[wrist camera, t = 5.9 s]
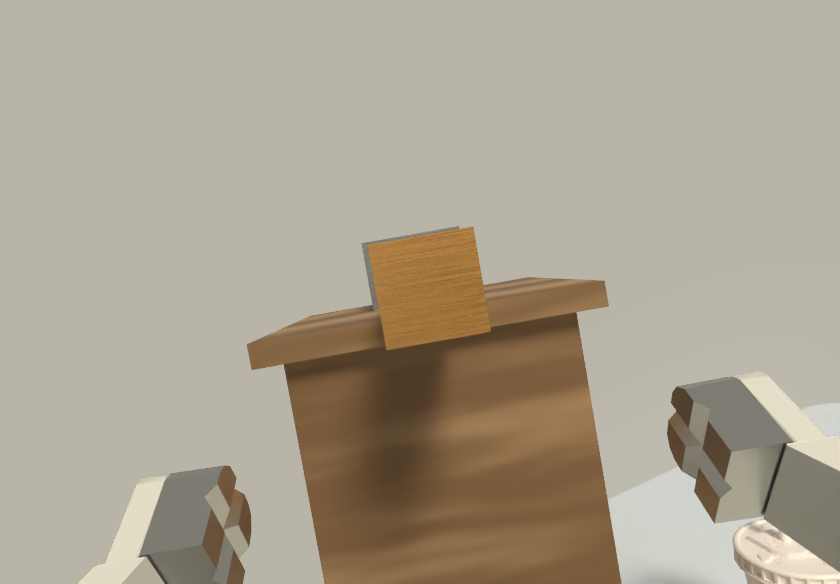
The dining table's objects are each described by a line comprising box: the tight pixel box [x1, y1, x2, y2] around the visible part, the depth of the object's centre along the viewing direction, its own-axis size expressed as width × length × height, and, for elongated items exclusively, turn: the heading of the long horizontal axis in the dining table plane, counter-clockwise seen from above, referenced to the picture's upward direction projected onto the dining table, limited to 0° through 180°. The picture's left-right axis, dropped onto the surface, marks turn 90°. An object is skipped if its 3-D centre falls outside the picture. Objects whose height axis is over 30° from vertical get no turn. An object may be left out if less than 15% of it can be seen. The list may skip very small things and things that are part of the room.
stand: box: [247, 277, 621, 584], centre depth 29 cm, size 14×14×26 cm
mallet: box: [362, 227, 491, 350], centre depth 24 cm, size 22×5×4 cm, turn 2°
